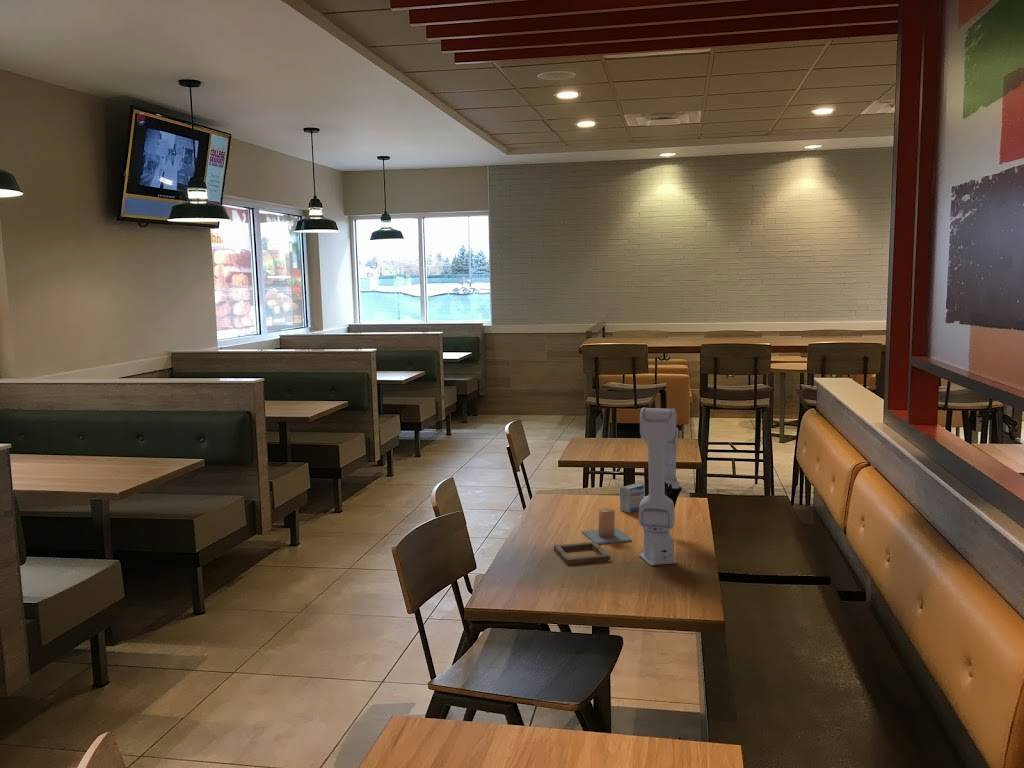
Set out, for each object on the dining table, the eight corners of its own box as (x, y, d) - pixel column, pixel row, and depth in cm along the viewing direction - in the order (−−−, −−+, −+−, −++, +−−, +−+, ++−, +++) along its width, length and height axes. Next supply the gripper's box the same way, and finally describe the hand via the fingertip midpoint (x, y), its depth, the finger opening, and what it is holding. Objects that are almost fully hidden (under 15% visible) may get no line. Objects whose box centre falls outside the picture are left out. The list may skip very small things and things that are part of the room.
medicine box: (629, 513, 281) (629, 489, 280) (619, 510, 284) (619, 486, 283) (644, 509, 286) (644, 485, 285) (634, 506, 289) (634, 482, 288)
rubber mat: (631, 541, 251) (631, 539, 251) (594, 544, 248) (594, 542, 248) (617, 529, 263) (617, 528, 263) (582, 532, 260) (582, 531, 260)
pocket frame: (610, 560, 234) (610, 555, 234) (567, 565, 231) (567, 559, 231) (595, 546, 247) (595, 541, 247) (553, 550, 244) (553, 545, 244)
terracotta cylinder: (610, 538, 252) (610, 513, 251) (595, 536, 255) (596, 511, 254) (617, 534, 256) (617, 509, 255) (602, 531, 259) (603, 507, 258)
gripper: (645, 458, 261) (645, 500, 263) (664, 469, 247) (663, 512, 249) (666, 457, 263) (665, 498, 265) (685, 467, 249) (684, 510, 251)
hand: (666, 505), depth 257 cm, fingers open, 7 cm apart
